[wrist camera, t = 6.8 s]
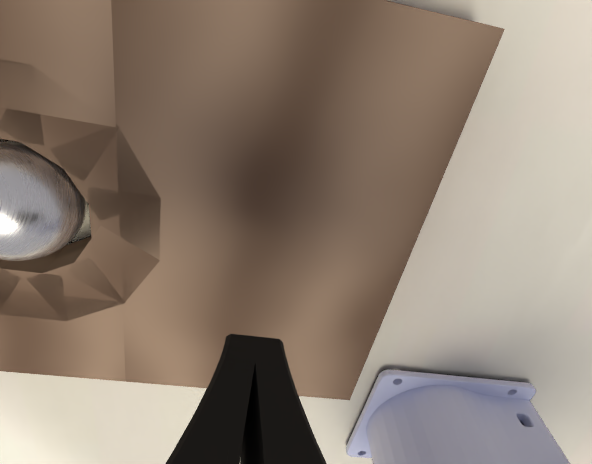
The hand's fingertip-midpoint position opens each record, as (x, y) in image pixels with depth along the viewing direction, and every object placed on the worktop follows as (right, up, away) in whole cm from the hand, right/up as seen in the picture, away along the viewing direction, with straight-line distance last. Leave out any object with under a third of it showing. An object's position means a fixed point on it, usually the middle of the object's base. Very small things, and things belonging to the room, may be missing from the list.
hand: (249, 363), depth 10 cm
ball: (-8, +4, +3) cm, 10 cm away
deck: (-4, +4, +6) cm, 9 cm away
